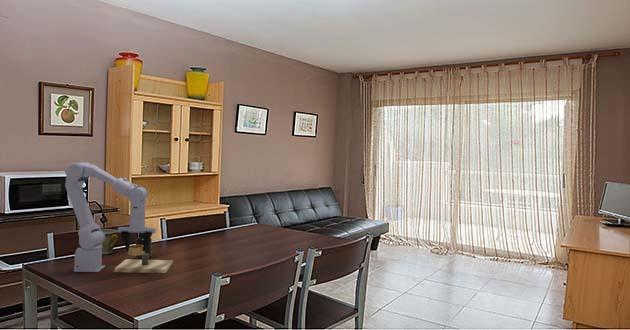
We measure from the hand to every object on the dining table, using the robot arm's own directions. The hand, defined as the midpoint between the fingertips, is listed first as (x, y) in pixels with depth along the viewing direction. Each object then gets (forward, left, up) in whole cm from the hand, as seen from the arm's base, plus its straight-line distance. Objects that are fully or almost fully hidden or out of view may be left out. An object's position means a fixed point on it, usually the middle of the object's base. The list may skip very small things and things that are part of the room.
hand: (136, 250), depth 178 cm
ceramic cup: (-21, +29, -9) cm, 37 cm away
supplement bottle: (-3, +22, -9) cm, 24 cm away
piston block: (+2, +6, -9) cm, 11 cm away
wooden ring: (0, 0, -1) cm, 1 cm away
